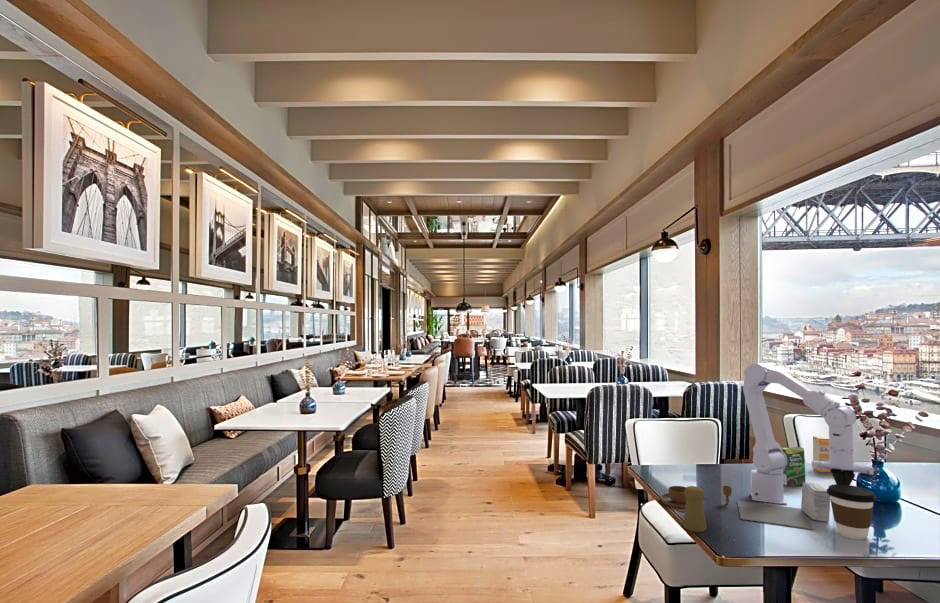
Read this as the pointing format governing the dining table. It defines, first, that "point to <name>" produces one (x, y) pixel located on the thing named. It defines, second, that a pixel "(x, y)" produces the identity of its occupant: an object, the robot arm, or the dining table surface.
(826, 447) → the supplement box
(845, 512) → the coffee cup
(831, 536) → the dining table surface
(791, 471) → the coffee box
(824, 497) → the medicine box
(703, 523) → the cork
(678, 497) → the place setting
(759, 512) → the rubber mat
